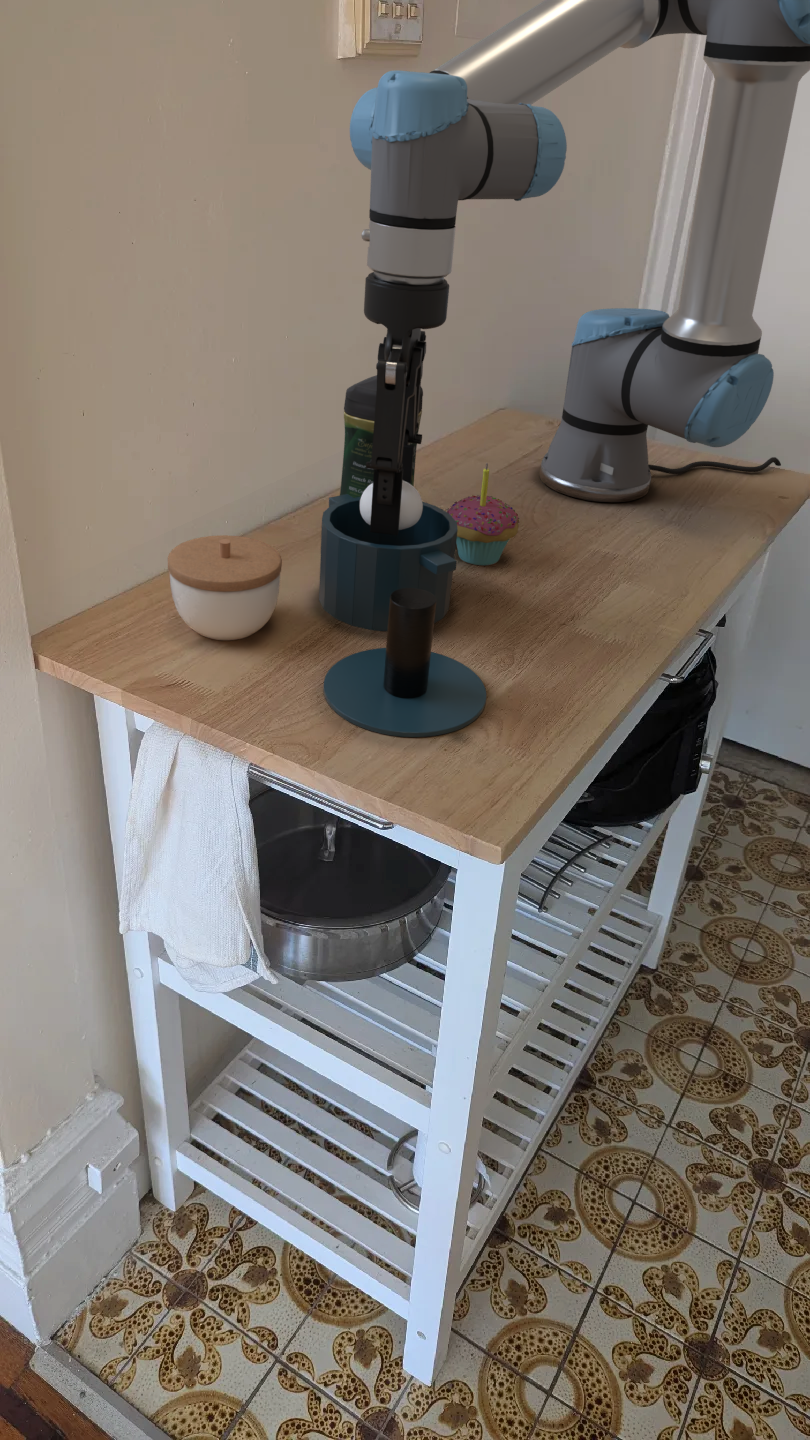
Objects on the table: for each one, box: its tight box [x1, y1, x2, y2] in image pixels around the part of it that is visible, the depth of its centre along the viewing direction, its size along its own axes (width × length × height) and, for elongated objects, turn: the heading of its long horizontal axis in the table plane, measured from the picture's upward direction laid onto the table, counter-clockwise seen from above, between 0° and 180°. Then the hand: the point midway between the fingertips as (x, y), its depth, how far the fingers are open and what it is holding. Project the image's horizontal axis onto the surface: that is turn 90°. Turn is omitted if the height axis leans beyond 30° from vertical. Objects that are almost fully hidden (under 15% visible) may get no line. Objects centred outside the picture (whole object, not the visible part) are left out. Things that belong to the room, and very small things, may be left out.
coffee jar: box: [339, 374, 424, 498], centre depth 123 cm, size 10×8×19 cm
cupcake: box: [446, 462, 520, 566], centre depth 121 cm, size 9×8×12 cm
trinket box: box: [167, 534, 283, 641], centre depth 102 cm, size 11×11×9 cm
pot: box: [318, 494, 458, 632], centre depth 109 cm, size 14×19×10 cm
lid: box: [322, 588, 487, 738], centre depth 94 cm, size 15×15×10 cm
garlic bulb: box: [360, 481, 423, 530], centre depth 105 cm, size 6×6×8 cm
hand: (390, 518), depth 107 cm, fingers closed on garlic bulb, 6 cm apart
